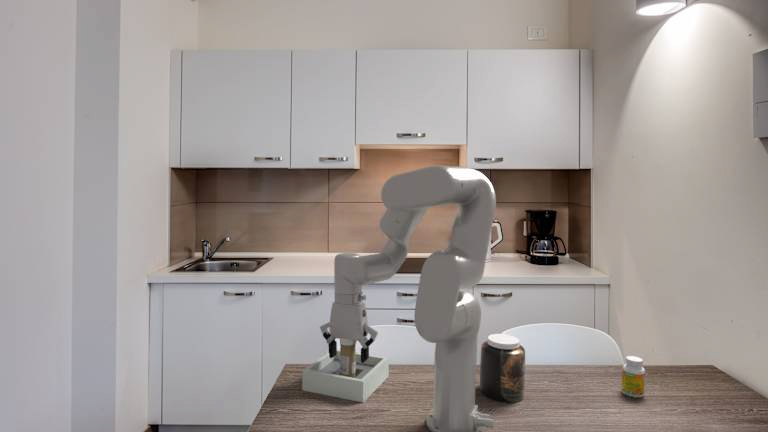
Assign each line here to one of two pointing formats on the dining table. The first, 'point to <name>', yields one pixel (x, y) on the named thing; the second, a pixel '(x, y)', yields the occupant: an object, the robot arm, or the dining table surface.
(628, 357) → the supplement bottle
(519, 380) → the jar
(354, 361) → the sprinkles bottle
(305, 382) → the open box
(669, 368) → the dining table surface
